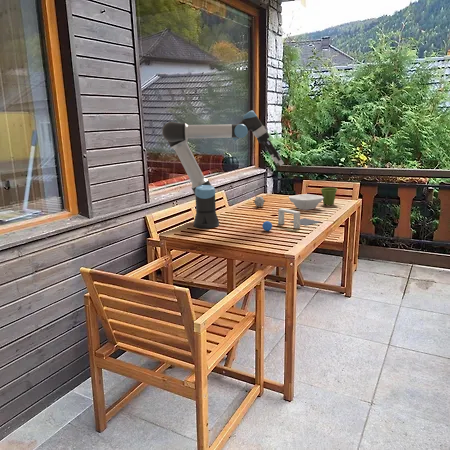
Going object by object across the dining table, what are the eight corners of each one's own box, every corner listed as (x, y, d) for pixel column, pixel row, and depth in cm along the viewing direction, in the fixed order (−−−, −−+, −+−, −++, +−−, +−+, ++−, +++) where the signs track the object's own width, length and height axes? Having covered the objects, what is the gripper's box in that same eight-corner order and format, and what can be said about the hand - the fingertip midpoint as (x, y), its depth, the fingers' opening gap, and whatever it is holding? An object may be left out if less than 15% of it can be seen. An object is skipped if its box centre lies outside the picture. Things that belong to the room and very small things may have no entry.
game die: (260, 211, 300) (267, 199, 301) (262, 209, 291) (268, 197, 293) (250, 205, 300) (256, 193, 301) (251, 203, 292) (257, 191, 293)
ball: (267, 232, 227) (266, 222, 226) (260, 230, 231) (260, 221, 230) (274, 230, 230) (274, 221, 229) (267, 229, 235) (267, 219, 233)
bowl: (305, 213, 272) (305, 200, 270) (284, 208, 289) (284, 196, 287) (327, 209, 283) (327, 197, 281) (306, 205, 300) (306, 193, 298)
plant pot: (318, 203, 306) (319, 187, 303) (334, 202, 305) (335, 187, 303) (321, 206, 294) (322, 190, 292) (338, 205, 294) (339, 190, 291)
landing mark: (306, 225, 240) (306, 225, 240) (289, 221, 250) (289, 221, 250) (320, 222, 248) (320, 221, 247) (304, 218, 258) (304, 218, 258)
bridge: (296, 228, 234) (296, 212, 232) (278, 224, 246) (278, 208, 243) (299, 227, 236) (300, 211, 234) (281, 223, 247) (281, 208, 245)
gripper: (270, 131, 237) (289, 161, 242) (263, 130, 261) (281, 158, 266) (259, 138, 237) (278, 169, 242) (253, 137, 262) (271, 165, 266)
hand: (280, 163), depth 254 cm, fingers open, 13 cm apart
